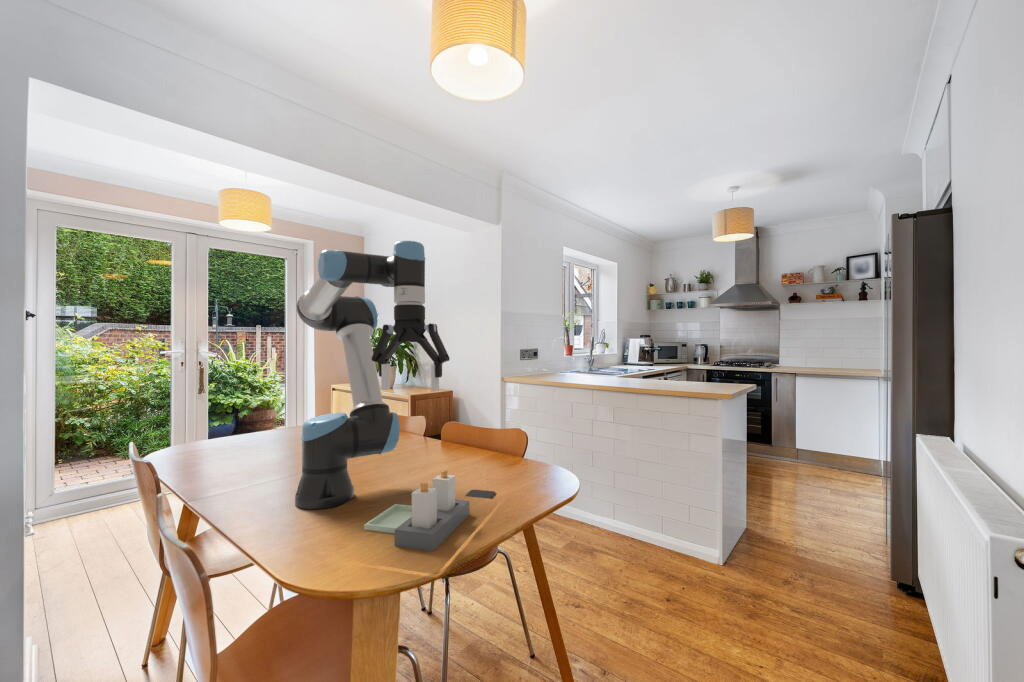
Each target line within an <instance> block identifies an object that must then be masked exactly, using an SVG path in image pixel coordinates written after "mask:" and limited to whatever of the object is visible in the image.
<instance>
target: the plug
mask: <svg viewBox="0 0 1024 682" xmlns="http://www.w3.org/2000/svg"><path fill="white" fill-rule="evenodd" d="M411 506H412V527H418V528H426V529H431V528H432V527H434V526H435V525H436V524H437V489H435V488H433V487H429V483H428V482H421V483H420V487H419V488H417V489H415V490H414V491H413V492H411Z"/></svg>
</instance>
